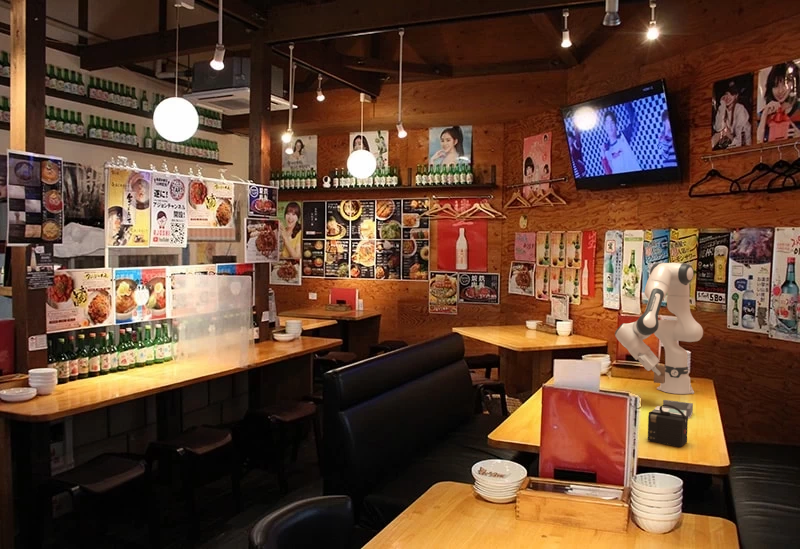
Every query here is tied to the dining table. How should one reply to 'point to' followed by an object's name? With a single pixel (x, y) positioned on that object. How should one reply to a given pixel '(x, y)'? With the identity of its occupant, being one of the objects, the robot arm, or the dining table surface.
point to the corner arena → (683, 406)
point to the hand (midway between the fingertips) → (661, 373)
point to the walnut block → (662, 376)
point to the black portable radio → (667, 427)
